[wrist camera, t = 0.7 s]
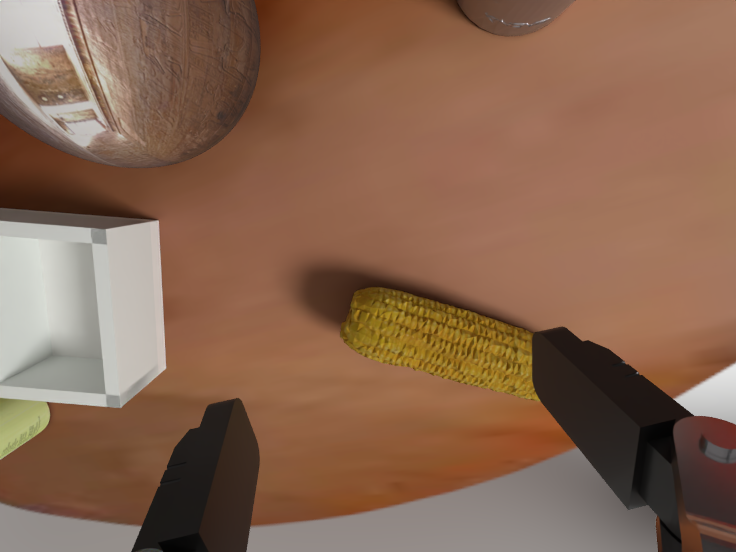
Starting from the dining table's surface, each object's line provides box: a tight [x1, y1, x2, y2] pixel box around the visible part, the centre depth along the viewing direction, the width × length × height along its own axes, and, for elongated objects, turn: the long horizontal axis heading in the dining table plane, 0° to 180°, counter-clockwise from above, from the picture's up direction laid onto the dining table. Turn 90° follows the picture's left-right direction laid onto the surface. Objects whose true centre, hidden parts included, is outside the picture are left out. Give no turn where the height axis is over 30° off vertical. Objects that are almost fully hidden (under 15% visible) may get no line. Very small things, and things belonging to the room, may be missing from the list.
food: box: [340, 287, 540, 401], centre depth 30 cm, size 21×6×6 cm, turn 74°
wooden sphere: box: [0, 0, 260, 168], centre depth 21 cm, size 15×15×15 cm
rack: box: [0, 208, 166, 408], centre depth 30 cm, size 13×19×6 cm
